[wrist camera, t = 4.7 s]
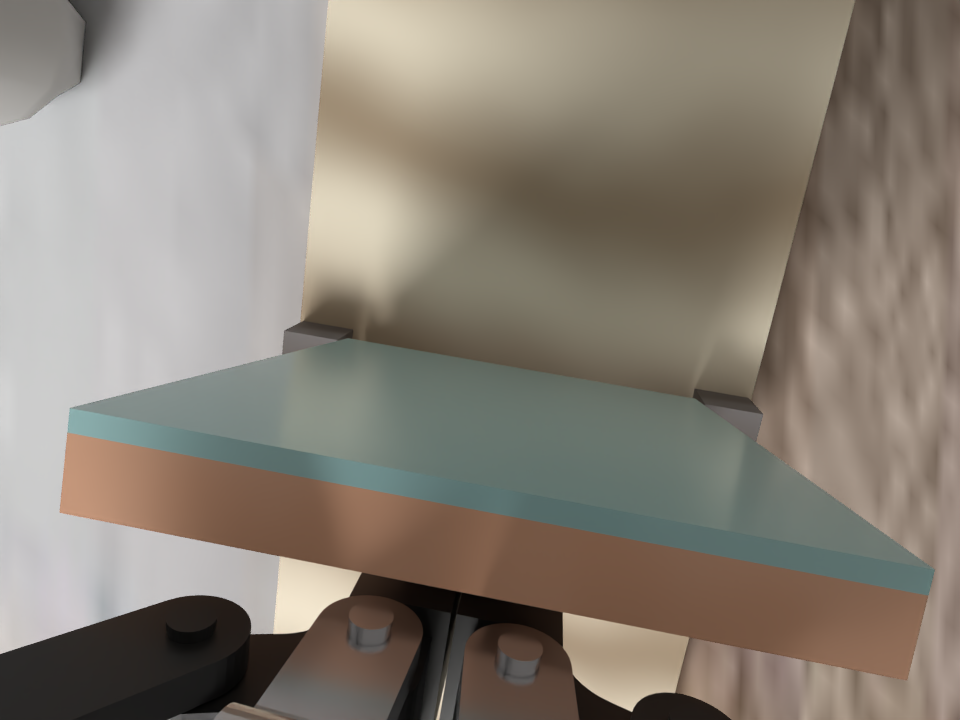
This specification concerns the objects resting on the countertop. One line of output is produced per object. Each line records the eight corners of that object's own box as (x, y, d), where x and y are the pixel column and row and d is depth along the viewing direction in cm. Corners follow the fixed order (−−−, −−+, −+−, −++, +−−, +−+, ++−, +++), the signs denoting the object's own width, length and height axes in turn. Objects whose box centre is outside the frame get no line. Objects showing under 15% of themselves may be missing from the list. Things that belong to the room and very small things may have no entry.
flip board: (351, -102, 20) (319, -147, 17) (849, -37, 19) (898, -75, 16) (281, 667, 26) (249, 722, 24) (649, 745, 26) (660, 810, 23)
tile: (353, 376, 22) (359, 335, 21) (677, 434, 21) (685, 391, 21) (59, 512, 8) (70, 408, 8) (907, 680, 8) (934, 570, 8)
